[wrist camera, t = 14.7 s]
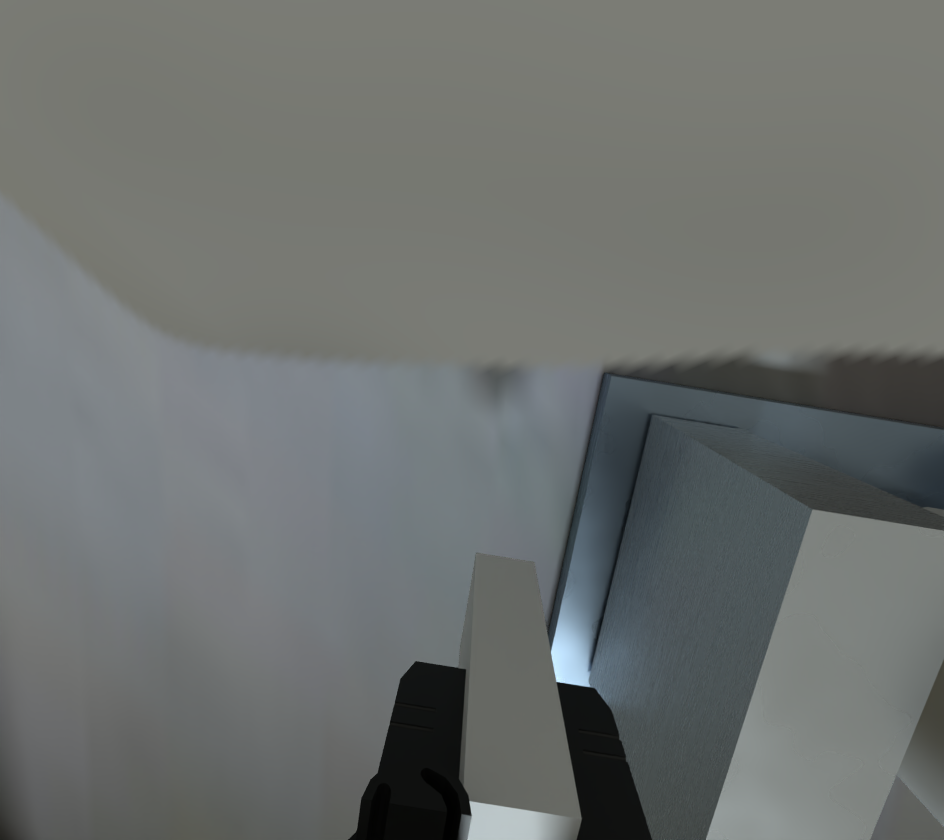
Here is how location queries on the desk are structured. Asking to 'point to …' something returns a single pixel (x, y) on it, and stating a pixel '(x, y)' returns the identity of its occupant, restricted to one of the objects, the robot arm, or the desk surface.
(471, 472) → the desk surface
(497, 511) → the desk surface
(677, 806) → the block
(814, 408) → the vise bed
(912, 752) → the can
